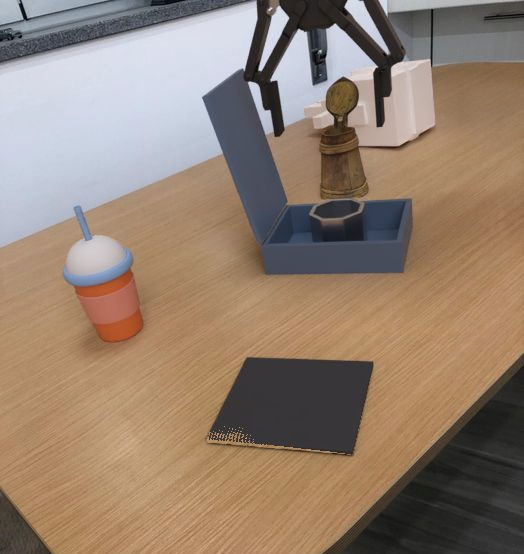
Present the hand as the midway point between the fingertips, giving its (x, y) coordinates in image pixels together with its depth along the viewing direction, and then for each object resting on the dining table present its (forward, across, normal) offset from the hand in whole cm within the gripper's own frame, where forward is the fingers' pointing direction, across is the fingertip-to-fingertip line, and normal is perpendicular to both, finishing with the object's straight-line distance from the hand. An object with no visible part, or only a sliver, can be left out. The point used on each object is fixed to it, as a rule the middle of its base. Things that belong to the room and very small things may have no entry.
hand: (328, 129), depth 79 cm
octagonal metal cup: (+18, 0, 0) cm, 18 cm away
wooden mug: (+19, -4, +27) cm, 33 cm away
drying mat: (+18, +1, -34) cm, 38 cm away
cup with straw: (+19, -27, -20) cm, 39 cm away
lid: (+3, -11, 0) cm, 12 cm away
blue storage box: (+19, 0, 0) cm, 19 cm away
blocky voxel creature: (+19, -5, +58) cm, 61 cm away
